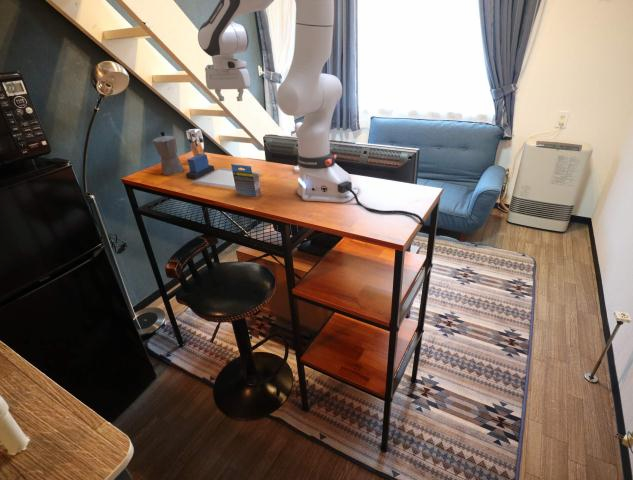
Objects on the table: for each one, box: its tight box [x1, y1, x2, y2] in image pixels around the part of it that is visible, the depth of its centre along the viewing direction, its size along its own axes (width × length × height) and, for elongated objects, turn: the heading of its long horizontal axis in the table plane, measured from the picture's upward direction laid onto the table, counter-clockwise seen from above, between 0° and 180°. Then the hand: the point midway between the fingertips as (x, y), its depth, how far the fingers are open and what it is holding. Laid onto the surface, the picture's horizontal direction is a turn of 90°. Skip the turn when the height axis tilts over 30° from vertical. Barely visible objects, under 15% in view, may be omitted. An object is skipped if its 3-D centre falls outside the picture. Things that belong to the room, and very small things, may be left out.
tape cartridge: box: [230, 163, 262, 197], centre depth 124 cm, size 9×4×12 cm, turn 65°
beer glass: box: [185, 128, 205, 157], centre depth 163 cm, size 7×7×15 cm
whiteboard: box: [192, 167, 261, 190], centre depth 143 cm, size 22×18×1 cm
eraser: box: [185, 153, 216, 181], centre depth 147 cm, size 5×12×8 cm, turn 154°
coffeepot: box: [152, 131, 184, 176], centre depth 152 cm, size 15×9×18 cm, turn 27°
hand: (230, 101), depth 143 cm, fingers open, 8 cm apart
